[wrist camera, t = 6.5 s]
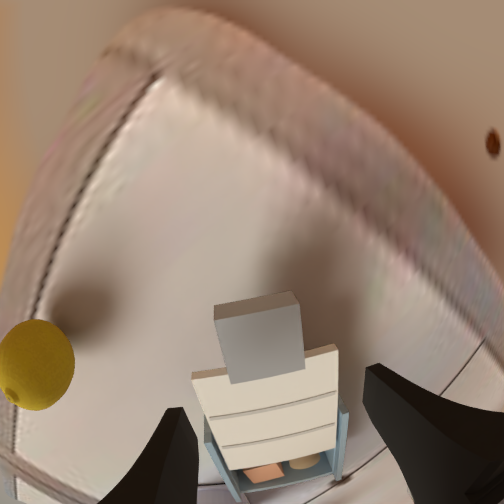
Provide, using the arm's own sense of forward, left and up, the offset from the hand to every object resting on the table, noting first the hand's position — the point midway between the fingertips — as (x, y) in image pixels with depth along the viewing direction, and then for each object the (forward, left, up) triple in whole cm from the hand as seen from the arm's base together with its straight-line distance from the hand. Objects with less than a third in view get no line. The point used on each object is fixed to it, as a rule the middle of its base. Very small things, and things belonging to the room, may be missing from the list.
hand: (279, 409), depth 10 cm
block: (-16, +2, -9) cm, 18 cm away
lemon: (0, +15, -10) cm, 18 cm away
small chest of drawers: (-5, 0, -6) cm, 7 cm away
